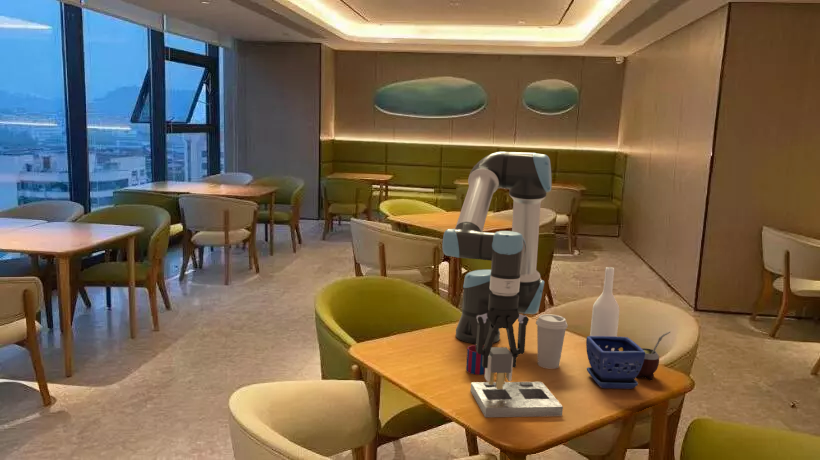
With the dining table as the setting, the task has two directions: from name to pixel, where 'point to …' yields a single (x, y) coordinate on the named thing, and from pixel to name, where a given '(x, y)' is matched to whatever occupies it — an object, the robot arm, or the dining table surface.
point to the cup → (474, 361)
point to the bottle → (605, 310)
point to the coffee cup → (550, 339)
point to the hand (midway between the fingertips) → (497, 379)
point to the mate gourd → (650, 361)
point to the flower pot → (614, 361)
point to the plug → (500, 365)
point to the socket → (516, 399)
